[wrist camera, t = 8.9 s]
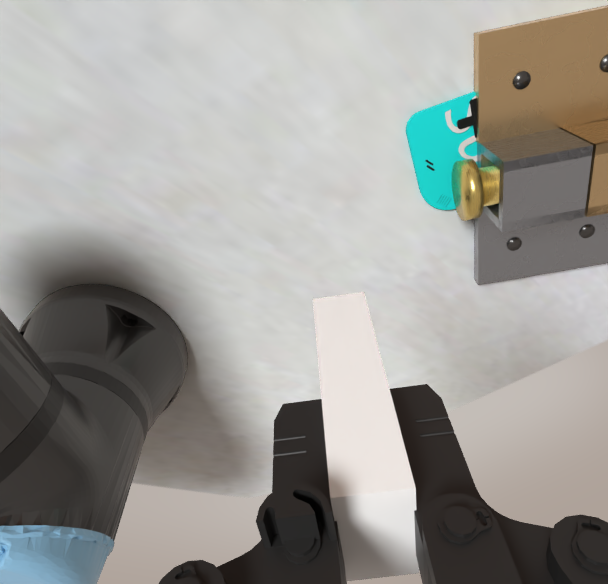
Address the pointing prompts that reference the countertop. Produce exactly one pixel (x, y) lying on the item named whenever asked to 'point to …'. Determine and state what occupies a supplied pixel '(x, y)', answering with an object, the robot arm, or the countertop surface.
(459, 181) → the pin
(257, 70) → the countertop surface
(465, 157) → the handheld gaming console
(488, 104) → the sliding bolt latch
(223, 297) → the countertop surface
